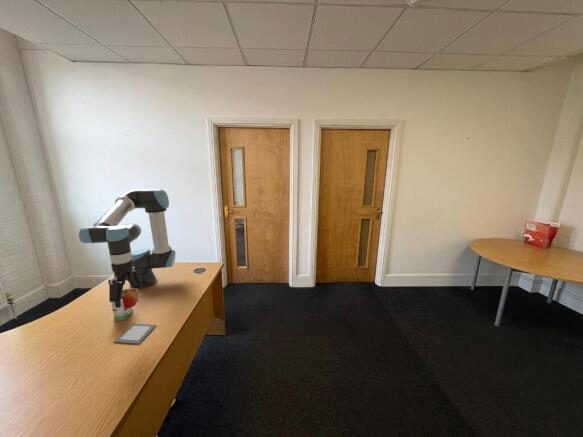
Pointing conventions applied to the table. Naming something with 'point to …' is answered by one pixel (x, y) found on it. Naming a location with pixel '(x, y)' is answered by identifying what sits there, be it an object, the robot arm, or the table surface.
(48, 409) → the table surface
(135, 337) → the coaster
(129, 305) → the apple
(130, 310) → the ink box
